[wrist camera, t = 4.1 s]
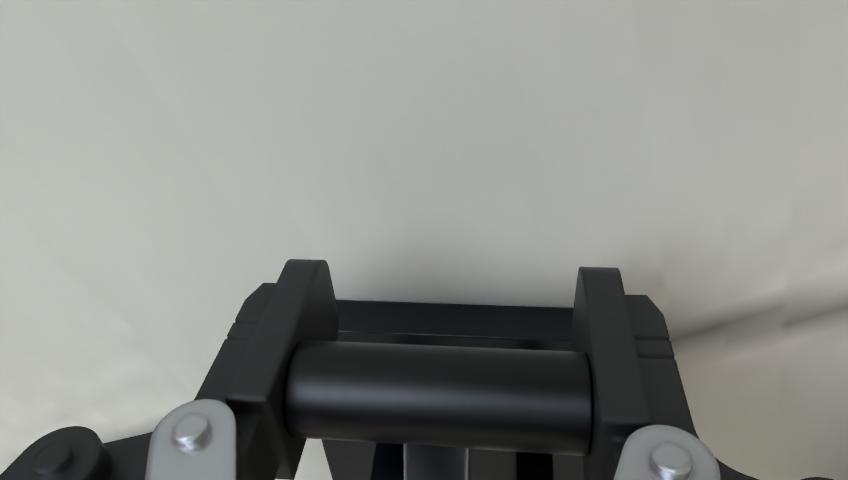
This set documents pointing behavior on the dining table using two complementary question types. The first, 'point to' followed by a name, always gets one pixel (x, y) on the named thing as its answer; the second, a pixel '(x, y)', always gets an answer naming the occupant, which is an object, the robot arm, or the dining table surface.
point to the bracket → (460, 327)
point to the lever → (441, 401)
